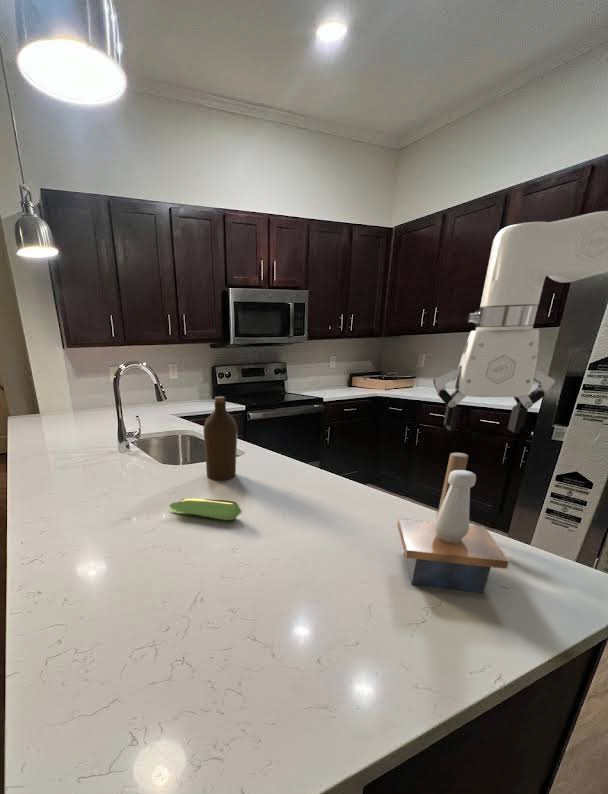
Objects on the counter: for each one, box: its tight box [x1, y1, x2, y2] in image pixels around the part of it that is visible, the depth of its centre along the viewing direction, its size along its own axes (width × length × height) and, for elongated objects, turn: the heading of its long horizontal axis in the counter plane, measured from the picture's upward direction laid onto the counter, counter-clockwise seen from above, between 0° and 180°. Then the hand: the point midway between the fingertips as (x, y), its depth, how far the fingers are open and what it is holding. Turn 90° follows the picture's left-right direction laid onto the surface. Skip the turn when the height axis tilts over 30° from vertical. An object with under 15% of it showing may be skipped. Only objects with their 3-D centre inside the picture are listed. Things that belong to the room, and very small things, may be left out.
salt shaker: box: [434, 469, 477, 543], centre depth 76 cm, size 6×6×13 cm
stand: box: [397, 518, 509, 594], centre depth 80 cm, size 16×14×8 cm
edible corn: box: [168, 497, 243, 522], centre depth 106 cm, size 5×20×5 cm, turn 71°
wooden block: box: [435, 452, 469, 518], centre depth 93 cm, size 4×11×18 cm, turn 156°
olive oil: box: [203, 396, 239, 481], centre depth 132 cm, size 11×11×25 cm
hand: (481, 430), depth 71 cm, fingers open, 9 cm apart
